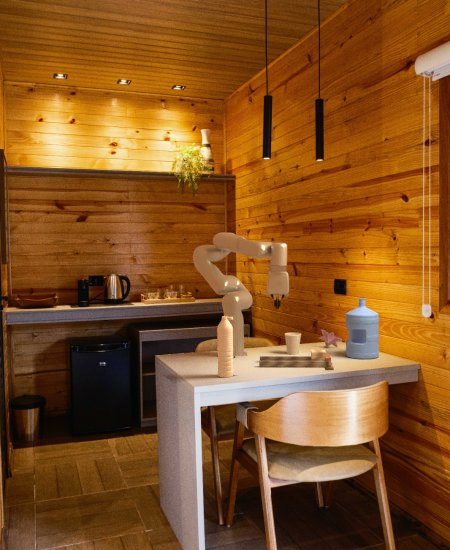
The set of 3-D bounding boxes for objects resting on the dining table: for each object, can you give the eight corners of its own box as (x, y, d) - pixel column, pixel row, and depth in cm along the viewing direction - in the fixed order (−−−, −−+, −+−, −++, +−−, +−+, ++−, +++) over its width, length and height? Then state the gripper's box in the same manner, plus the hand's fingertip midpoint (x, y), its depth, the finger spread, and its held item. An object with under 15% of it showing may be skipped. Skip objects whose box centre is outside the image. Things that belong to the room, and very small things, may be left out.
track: (259, 369, 245) (259, 358, 244) (259, 363, 259) (259, 352, 258) (333, 369, 242) (333, 358, 242) (330, 363, 256) (330, 352, 256)
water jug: (367, 352, 281) (367, 296, 280) (385, 358, 266) (385, 299, 265) (339, 354, 276) (339, 298, 275) (356, 360, 261) (356, 300, 260)
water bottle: (215, 375, 235) (214, 315, 234) (228, 373, 238) (227, 314, 237) (225, 379, 227) (224, 318, 226) (239, 377, 231) (238, 316, 229)
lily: (344, 351, 290) (346, 334, 295) (327, 344, 286) (329, 327, 290) (329, 355, 300) (331, 338, 304) (312, 348, 295) (314, 331, 299)
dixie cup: (303, 352, 283) (303, 333, 282) (298, 355, 275) (297, 335, 275) (288, 351, 287) (287, 332, 286) (282, 354, 279) (281, 334, 279)
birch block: (311, 366, 246) (311, 352, 246) (311, 363, 252) (310, 349, 252) (325, 366, 245) (325, 352, 245) (324, 363, 251) (324, 349, 251)
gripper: (262, 269, 258) (260, 308, 260) (294, 270, 257) (293, 310, 258) (262, 268, 266) (261, 306, 267) (294, 269, 264) (293, 308, 266)
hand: (277, 308), depth 263 cm, fingers closed
